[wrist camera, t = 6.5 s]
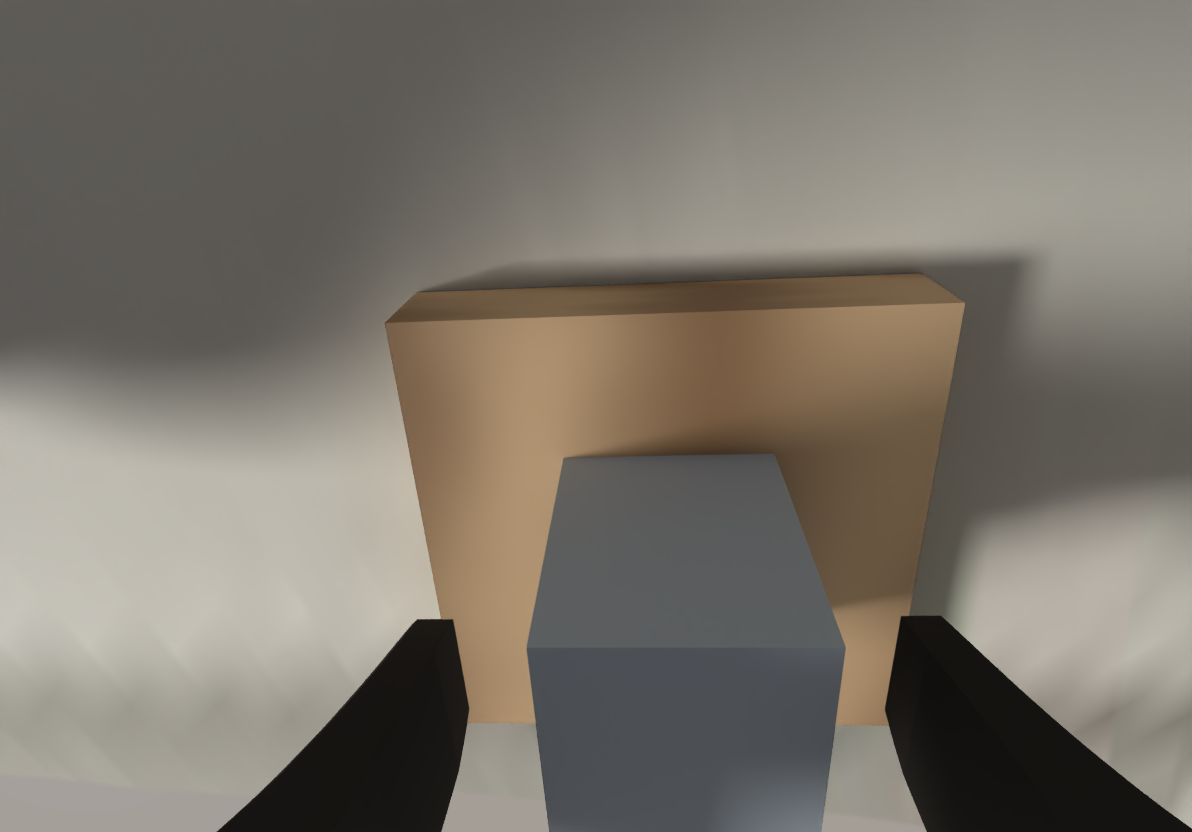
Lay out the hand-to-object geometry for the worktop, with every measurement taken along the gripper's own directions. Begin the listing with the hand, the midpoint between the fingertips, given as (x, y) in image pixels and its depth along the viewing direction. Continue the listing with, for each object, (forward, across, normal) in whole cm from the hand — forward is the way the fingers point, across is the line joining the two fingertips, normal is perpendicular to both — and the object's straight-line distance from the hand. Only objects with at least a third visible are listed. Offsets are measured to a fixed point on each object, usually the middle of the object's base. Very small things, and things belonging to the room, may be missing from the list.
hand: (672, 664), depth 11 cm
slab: (+5, 0, 0) cm, 5 cm away
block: (+3, 0, 0) cm, 3 cm away
